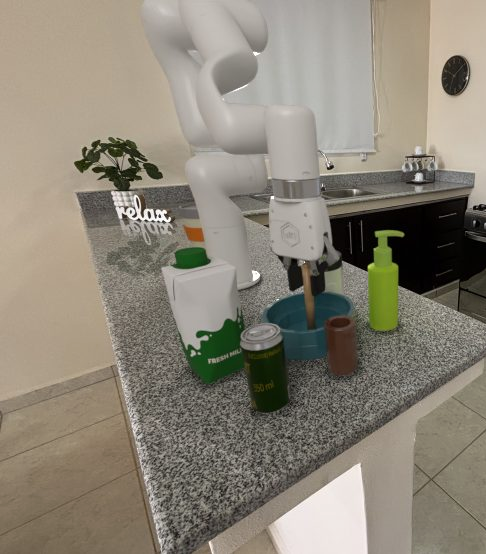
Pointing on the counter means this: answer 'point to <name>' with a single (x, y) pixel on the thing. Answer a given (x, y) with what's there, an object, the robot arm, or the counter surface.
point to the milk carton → (206, 312)
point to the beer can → (265, 367)
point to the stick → (308, 296)
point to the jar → (334, 276)
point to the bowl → (294, 322)
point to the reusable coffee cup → (192, 224)
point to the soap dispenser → (383, 285)
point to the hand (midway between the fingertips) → (307, 290)
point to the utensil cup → (341, 344)
